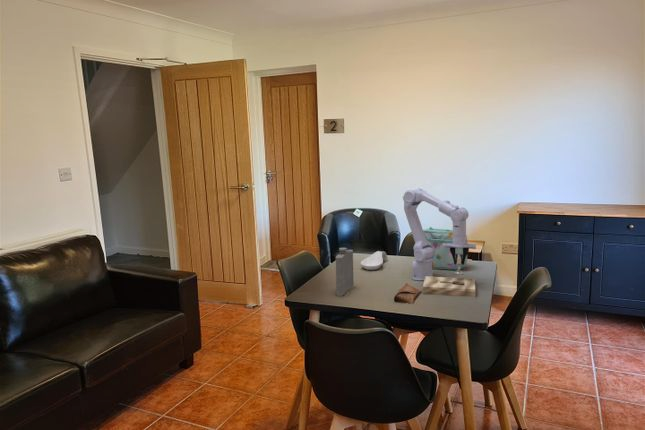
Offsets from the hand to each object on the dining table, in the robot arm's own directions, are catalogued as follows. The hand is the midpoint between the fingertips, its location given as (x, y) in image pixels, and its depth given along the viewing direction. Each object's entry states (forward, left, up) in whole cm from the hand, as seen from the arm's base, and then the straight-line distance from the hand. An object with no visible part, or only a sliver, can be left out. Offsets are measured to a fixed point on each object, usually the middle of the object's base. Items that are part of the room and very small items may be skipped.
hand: (458, 263), depth 208 cm
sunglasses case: (-21, -19, -11) cm, 31 cm away
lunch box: (-9, +31, -11) cm, 34 cm away
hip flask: (-50, -17, -11) cm, 54 cm away
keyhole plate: (-4, -6, -11) cm, 13 cm away
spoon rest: (-44, +28, -11) cm, 53 cm away
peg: (0, 0, -5) cm, 5 cm away
